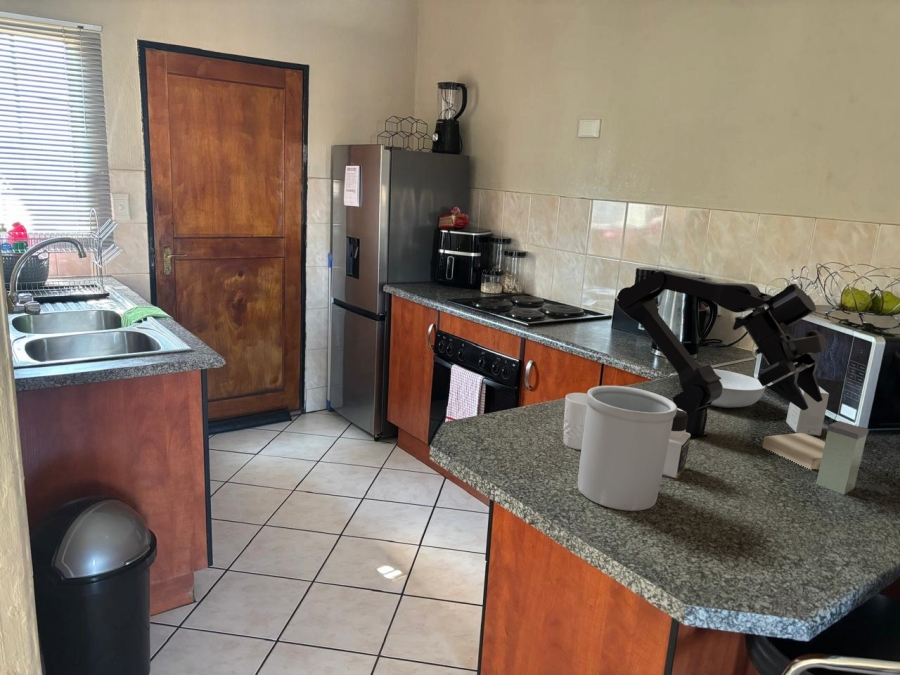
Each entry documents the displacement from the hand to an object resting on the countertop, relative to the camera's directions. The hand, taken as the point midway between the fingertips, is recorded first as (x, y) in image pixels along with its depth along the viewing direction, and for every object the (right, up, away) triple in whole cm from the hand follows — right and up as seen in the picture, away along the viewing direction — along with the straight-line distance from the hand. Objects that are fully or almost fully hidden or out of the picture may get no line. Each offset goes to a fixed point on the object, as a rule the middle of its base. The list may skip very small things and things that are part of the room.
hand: (813, 405), depth 130 cm
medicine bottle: (-31, -12, -2) cm, 33 cm away
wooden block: (+4, -12, +11) cm, 17 cm away
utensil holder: (-43, -14, -15) cm, 47 cm away
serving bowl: (-1, -4, +45) cm, 45 cm away
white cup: (-45, -9, +7) cm, 46 cm away
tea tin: (+2, -15, -4) cm, 16 cm away
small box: (+13, -9, +28) cm, 32 cm away
